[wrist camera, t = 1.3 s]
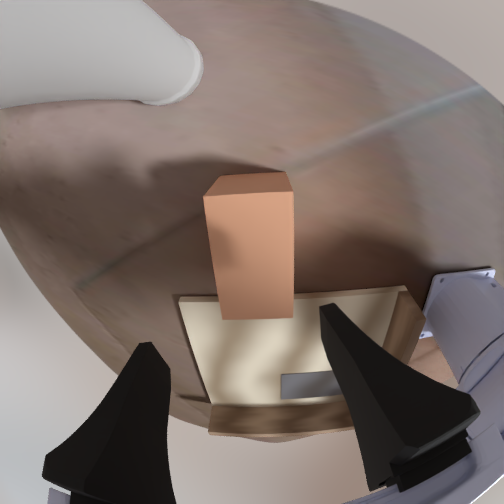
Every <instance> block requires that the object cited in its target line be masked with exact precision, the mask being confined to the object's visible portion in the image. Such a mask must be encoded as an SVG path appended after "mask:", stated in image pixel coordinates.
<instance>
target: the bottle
mask: <svg viewBox="0 0 504 504" xmlns="http://www.w3.org/2000/svg"><path fill="white" fill-rule="evenodd" d="M203 71H204V67H203V57H202V55H201V53H200V52H199V50H198V49H197V47H196V46H195V44H194V43H193V42H192V41H191V40H189V39H187V38H185V37H184V36H182V35H179V34H178V33H177V32H176V31H175V30H174V29H173V28H172V27H171V26H170V25H169V24H167V23H166V22H165V21H164V20H163V19H162V18H161V17H160V16H159V15H158V14H157V13H156V12H155V11H153V10H152V9H151V8H150V7H149V6H148V5H147V4H146V3H144V2H143V1H142V0H0V109H3V108H9V107H15V106H21V105H28V104H36V103H45V102H55V101H69V100H94V99H118V100H139V101H141V102H142V103H144V104H149V105H156V106H164V105H168V104H173V103H177V102H179V101H181V100H182V99H184V98H185V97H187V96H189V95H190V94H191V93H192V92H193V91H194V90H195V88H196V87H197V86H198V85H199V83H200V81H201V77H202V74H203Z"/></svg>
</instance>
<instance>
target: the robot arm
mask: <svg viewBox="0 0 504 504" xmlns="http://www.w3.org/2000/svg"><path fill="white" fill-rule="evenodd" d="M494 274H495V269H494V268H488V269H480V270H472V271H464V272H455V273H447V274H438V275H435V276H434V277H433V280H432V283H431V286H430V290H429V293H428V296H427V299H426V302H425V305H424V308H423V311H422V313H423V314H424V316H425V317H426V322H425V325H424V327H423V330H422V332H421V335H420V337H419V339H420V338H425V337H430V336H433V337H434V339H435V340H436V342H437V344H438V346H439V348H440V349H441V351H442V353H443V355H444V357H445V359H446V360H447V362H448V364H449V366H450V368H451V370H452V372H453V374H454V376H455V378H456V380H457V382H458V384H459V386H458V387H457V388H456V389H453V388H451V387H448V386H446V385H444V384H441V383H439V382H437V381H435V380H433V379H431V378H429V377H427V376H425V375H423V374H421V373H419V372H418V371H416V370H414V369H412V368H411V367H409V366H407V365H406V364H404V363H403V362H401V361H400V360H398V359H397V358H395V357H394V356H393V355H391V354H390V353H388V352H387V351H386V350H384V349H383V348H382V347H381V346H379V345H378V344H377V343H376V342H375V341H373V340H372V339H371V338H370V337H369V336H368V335H366V334H365V333H364V332H363V331H362V330H361V329H360V328H359V327H358V326H357V325H356V324H355V323H354V322H353V321H351V320H350V319H349V318H348V317H347V315H346V314H345V313H344V312H343V311H342V310H341V309H340V308H339V307H338V306H337V305H336V304H335V303H330V304H326V305H322V306H319V314H320V329H321V340H322V343H323V347H324V350H325V353H326V356H327V359H328V361H329V364H330V366H331V368H332V371H333V373H334V375H335V377H336V380H337V382H338V384H339V386H340V389H341V391H342V393H343V396H344V398H345V400H346V403H347V405H348V408H349V411H350V415H351V418H352V421H353V425H354V428H355V432H356V435H357V439H358V443H359V447H360V451H361V455H362V459H363V463H364V469H365V474H366V479H367V484H368V487H369V491H373V490H376V489H378V488H381V487H383V486H387V488H385V489H383V490H380V491H378V492H375V493H373V494H370V495H367V496H364V497H361V498H359V499H356V500H352V501H349V502H346V503H343V504H471V503H472V502H474V501H475V500H476V499H477V498H479V497H480V496H481V495H482V494H483V493H484V492H486V491H487V490H488V489H489V488H490V487H491V486H493V485H494V484H495V483H496V482H497V481H498V480H499V479H501V478H502V477H503V476H504V288H503V287H502V286H501V285H500V284H499V283H498V282H497V281H496V280H495V279H494V278H493V277H494ZM170 393H171V374H170V368H169V366H168V365H167V364H166V362H165V361H164V359H163V358H162V357H161V355H160V354H159V352H158V351H157V349H156V348H155V347H154V345H153V344H152V342H145V343H139V345H138V346H137V347H136V349H135V351H134V352H133V354H132V355H131V357H130V359H129V360H128V362H127V363H126V365H125V367H124V368H123V370H122V371H121V373H120V375H119V376H118V378H117V379H116V381H115V383H114V384H113V386H112V387H111V388H110V390H109V391H108V393H107V395H106V396H105V398H104V399H103V400H102V402H101V403H100V404H99V406H98V407H97V408H96V409H95V411H94V412H93V413H92V414H91V415H90V417H89V418H88V419H87V420H86V421H85V422H84V423H83V424H82V425H81V426H80V427H79V428H78V429H77V430H76V431H75V432H74V433H73V434H72V435H71V436H70V437H69V438H68V439H67V440H65V441H64V442H63V443H62V444H61V445H59V446H58V447H57V448H55V449H54V450H52V451H51V452H49V453H48V454H47V455H46V456H45V461H44V466H43V472H42V477H43V478H44V479H45V480H47V481H49V482H51V483H53V484H56V485H58V486H60V487H62V488H64V489H66V490H69V491H71V496H70V495H68V494H65V493H63V492H60V491H58V490H55V489H53V488H49V495H48V504H176V500H175V496H174V492H173V488H172V483H171V476H170V470H169V461H168V449H167V426H168V415H169V404H170Z"/></svg>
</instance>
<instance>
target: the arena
mask: <svg viewBox="0 0 504 504" xmlns="http://www.w3.org/2000/svg"><path fill="white" fill-rule="evenodd" d="M178 303H179V306H180V310H181V313H182V317H183V320H184V323H185V327H186V330H187V333H188V337H189V340H190V343H191V346H192V349H193V352H194V355H195V358H196V361H197V364H198V367H199V370H200V373H201V376H202V379H203V382H204V384H205V387H206V390H207V393H208V395H209V398H210V401H211V403H212V411H211V417H210V423H209V429H208V433H209V434H210V435H218V436H235V437H284V436H302V435H314V434H323V433H332V432H339V431H346V430H352V429H355V428H354V425H353V421H352V418H351V415H350V411H349V408H348V405H347V403H346V400H345V398H344V396H343V393H342V391H341V389H340V386H339V384H338V382H337V380H336V377H335V375H334V373H333V371H332V368H331V366H330V364H329V361H328V359H327V356H326V353H325V350H324V347H323V343H322V340H321V329H320V314H319V306H322V305H326V304H330V303H335V304H336V305H337V306H338V307H339V308H340V309H341V310H342V311H343V312H344V313H345V314H346V315H347V317H348V318H349V319H350V320H351V321H353V322H354V323H355V324H356V325H357V326H358V327H359V328H360V329H361V330H362V331H363V332H364V333H365V334H366V335H368V336H369V337H370V338H371V339H372V340H373V341H375V342H376V343H377V344H378V345H379V346H381V347H382V348H383V349H384V350H386V351H387V352H388V353H390V354H391V355H393V356H394V357H395V358H397V359H398V360H400V361H401V362H403V363H404V364H406V365H407V364H408V362H409V360H410V358H411V356H412V353H413V351H414V349H415V347H416V344H417V342H418V340H419V337H420V335H421V332H422V330H423V327H424V325H425V322H426V317H425V316H424V314H423V313H422V311H421V310H420V308H419V306H418V305H417V303H416V302H415V300H414V299H413V297H412V296H411V294H410V293H409V291H408V290H407V288H406V287H405V285H403V286H393V287H382V288H371V289H359V290H346V291H332V292H316V293H298V294H294V304H293V318H281V319H248V320H222V315H221V310H220V304H219V298H218V296H199V297H180V299H179V302H178Z"/></svg>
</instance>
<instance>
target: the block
mask: <svg viewBox="0 0 504 504" xmlns="http://www.w3.org/2000/svg"><path fill="white" fill-rule="evenodd" d="M203 200H204V207H205V215H206V222H207V229H208V236H209V243H210V249H211V256H212V262H213V268H214V275H215V281H216V287H217V293H218V298H219V304H220V310H221V315H222V320H248V319H281V318H293V304H294V201H293V190H292V187H291V184H290V182H289V179H288V177H287V174H286V172H271V173H252V174H237V175H224V176H219V178H218V179H217V180H216V181H215V182H214V184H213V185H212V186H211V187H210V189H209V190H208V191H207V192H206V194H205V195H204V196H203Z"/></svg>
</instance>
